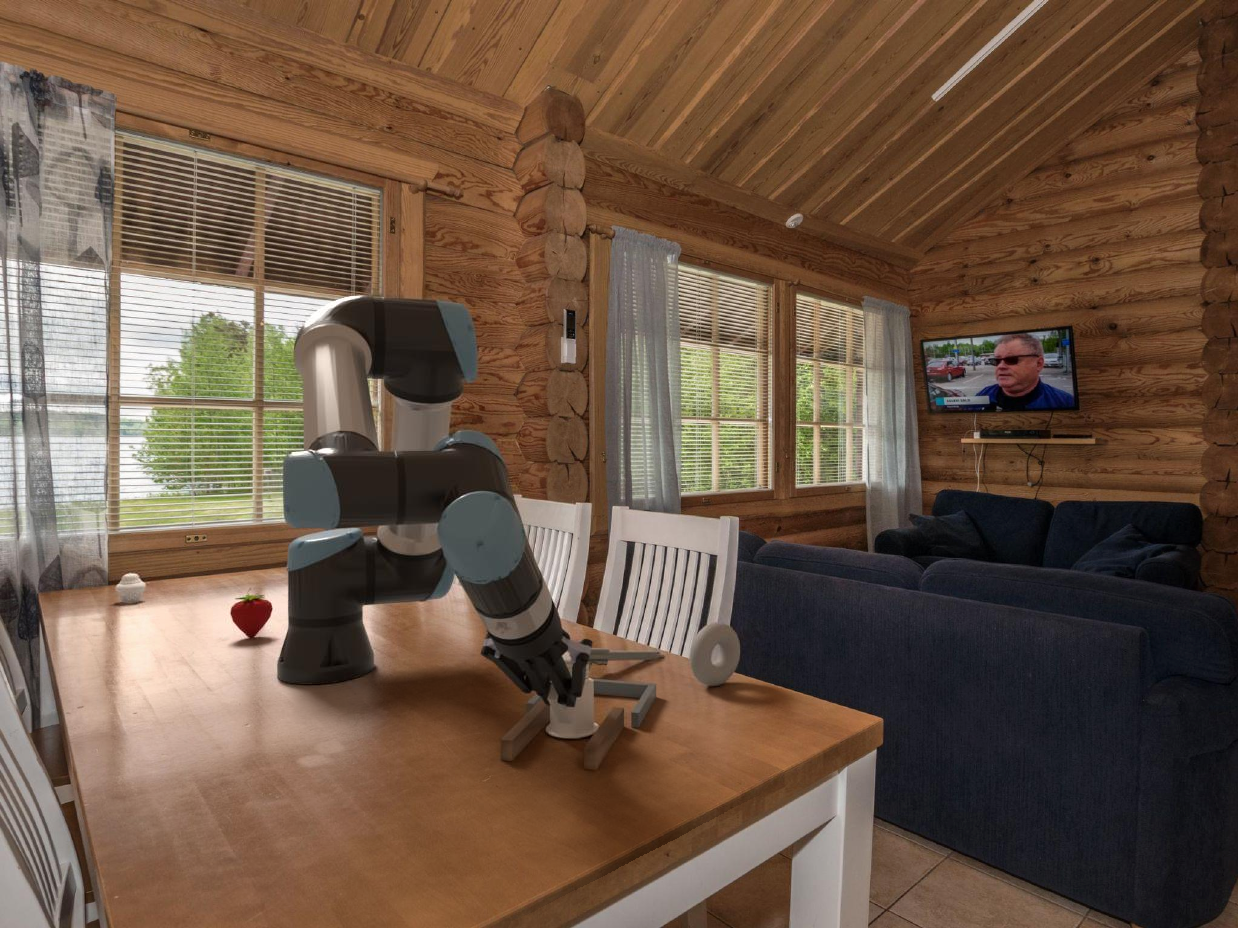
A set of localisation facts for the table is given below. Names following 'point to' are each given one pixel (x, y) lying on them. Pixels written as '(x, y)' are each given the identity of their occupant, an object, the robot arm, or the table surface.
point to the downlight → (576, 711)
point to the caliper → (619, 656)
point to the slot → (540, 717)
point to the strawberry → (251, 614)
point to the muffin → (130, 588)
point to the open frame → (619, 689)
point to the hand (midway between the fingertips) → (567, 713)
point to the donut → (703, 653)
